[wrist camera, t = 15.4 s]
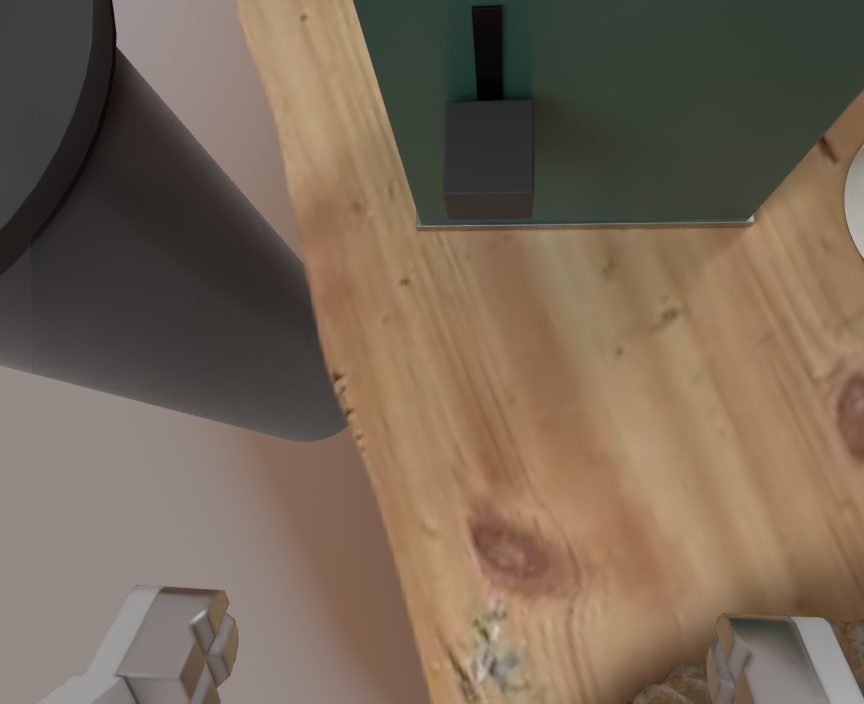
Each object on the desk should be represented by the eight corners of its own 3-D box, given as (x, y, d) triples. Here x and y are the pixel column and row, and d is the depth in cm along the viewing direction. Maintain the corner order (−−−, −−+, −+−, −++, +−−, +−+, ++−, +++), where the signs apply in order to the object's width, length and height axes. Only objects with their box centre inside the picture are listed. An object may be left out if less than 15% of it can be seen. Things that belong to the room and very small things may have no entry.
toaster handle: (531, 219, 22) (534, 193, 20) (447, 220, 23) (442, 194, 21) (531, 131, 23) (534, 97, 21) (449, 133, 23) (444, 100, 21)
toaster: (750, 227, 31) (1002, -46, 15) (417, 231, 33) (338, -12, 17) (738, 64, 33) (954, -331, 17) (422, 75, 34) (355, -276, 19)
